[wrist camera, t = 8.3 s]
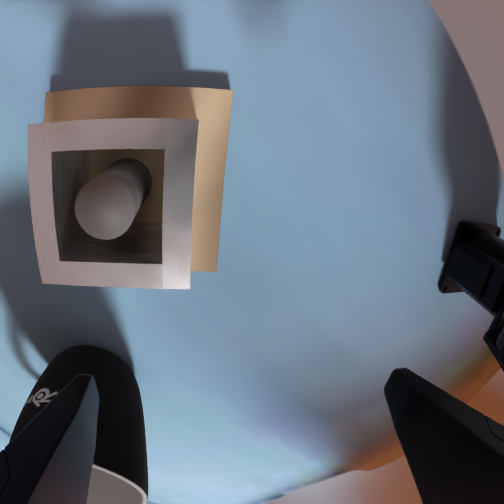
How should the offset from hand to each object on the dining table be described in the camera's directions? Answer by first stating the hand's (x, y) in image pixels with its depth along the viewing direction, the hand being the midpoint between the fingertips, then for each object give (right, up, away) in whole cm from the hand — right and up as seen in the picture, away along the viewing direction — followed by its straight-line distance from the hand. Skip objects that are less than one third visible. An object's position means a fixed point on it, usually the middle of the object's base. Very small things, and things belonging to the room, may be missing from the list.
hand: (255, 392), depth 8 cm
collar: (-6, +7, +7) cm, 12 cm away
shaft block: (-7, +8, +8) cm, 13 cm away
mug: (-13, -7, +13) cm, 20 cm away
